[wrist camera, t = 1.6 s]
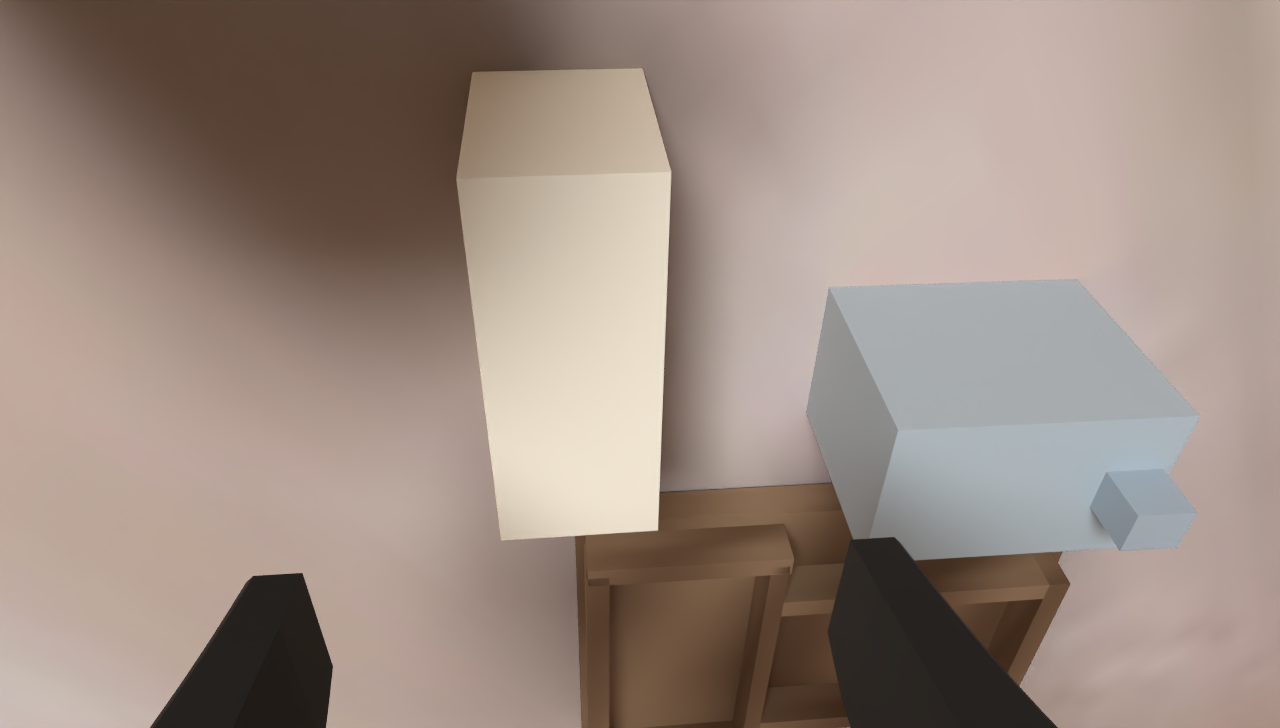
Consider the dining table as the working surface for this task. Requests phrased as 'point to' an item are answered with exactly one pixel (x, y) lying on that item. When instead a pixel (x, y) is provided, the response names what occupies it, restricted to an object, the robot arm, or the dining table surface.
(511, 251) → the cream rectangular block
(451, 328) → the dining table surface
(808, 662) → the jig
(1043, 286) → the blue box with knob
